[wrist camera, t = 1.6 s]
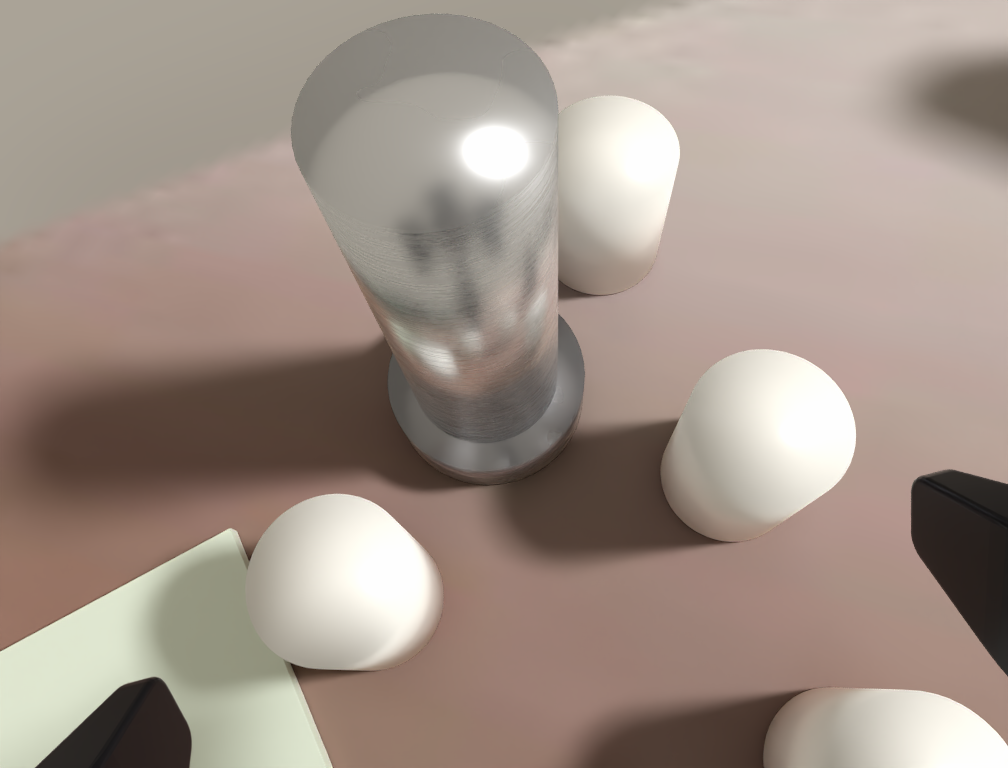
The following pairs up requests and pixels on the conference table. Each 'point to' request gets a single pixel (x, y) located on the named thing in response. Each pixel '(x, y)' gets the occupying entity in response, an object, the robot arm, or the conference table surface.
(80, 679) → the sage mat
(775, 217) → the conference table surface
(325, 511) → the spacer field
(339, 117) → the silver cylinder
